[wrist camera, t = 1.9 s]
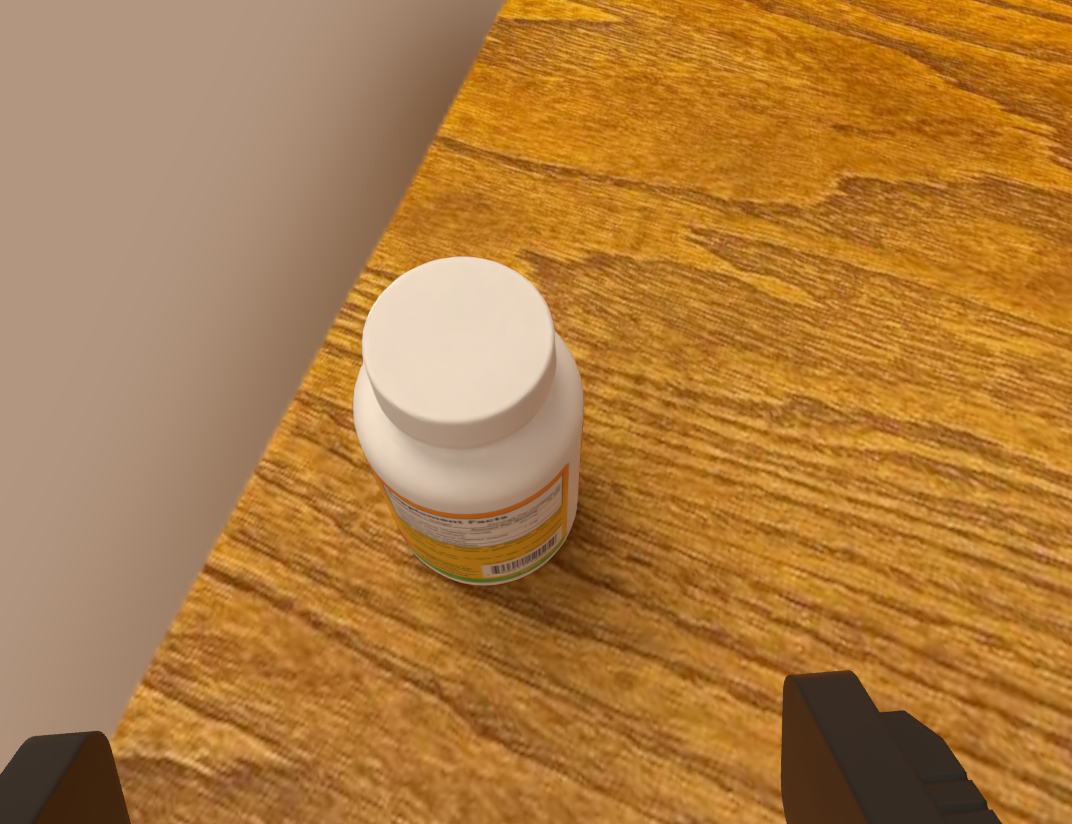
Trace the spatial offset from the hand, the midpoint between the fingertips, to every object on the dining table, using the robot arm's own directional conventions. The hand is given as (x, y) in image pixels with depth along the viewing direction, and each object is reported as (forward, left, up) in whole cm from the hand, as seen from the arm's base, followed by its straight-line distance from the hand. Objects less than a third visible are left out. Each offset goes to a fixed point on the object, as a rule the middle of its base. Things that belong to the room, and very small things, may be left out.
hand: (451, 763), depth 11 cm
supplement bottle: (-1, +9, -15) cm, 17 cm away
